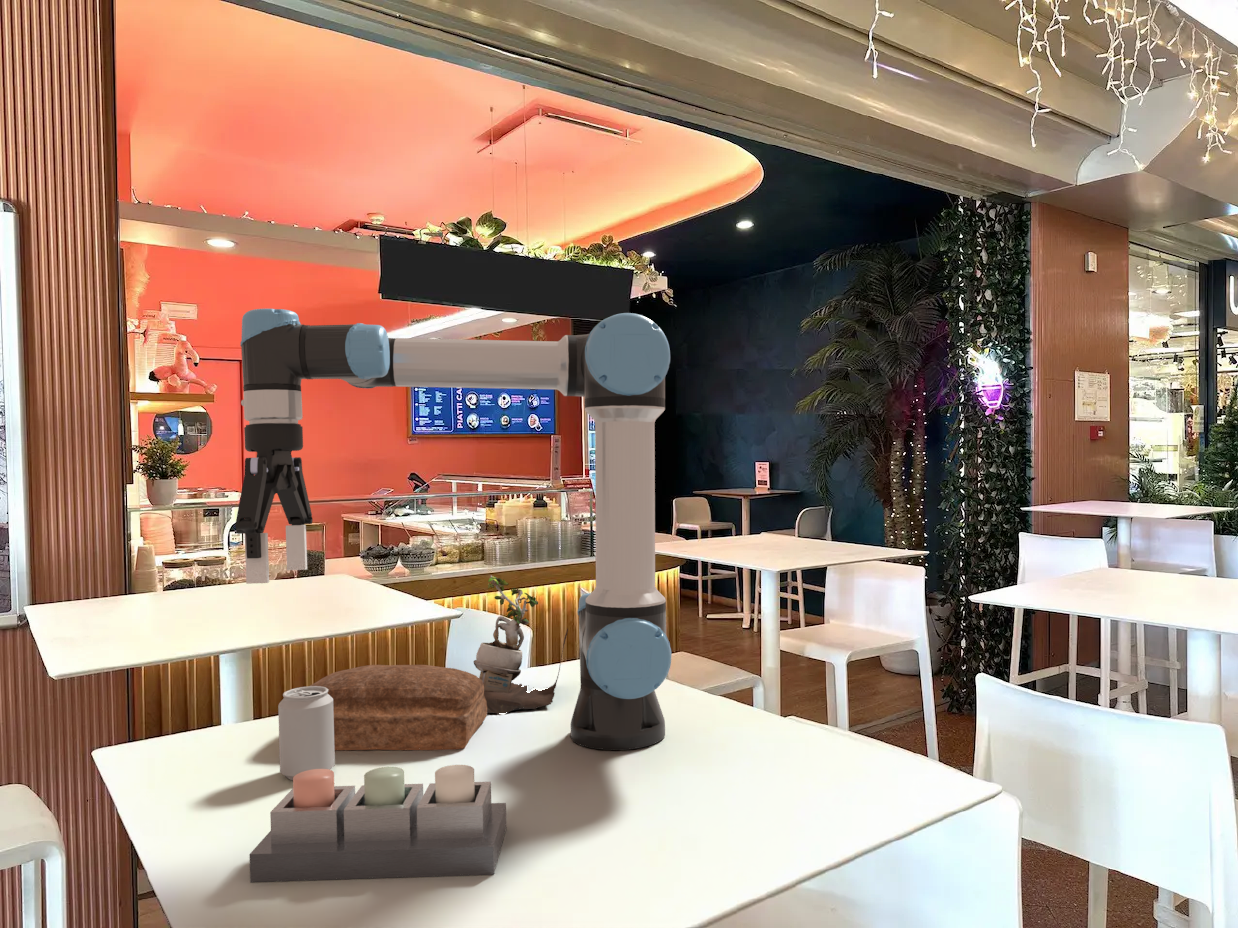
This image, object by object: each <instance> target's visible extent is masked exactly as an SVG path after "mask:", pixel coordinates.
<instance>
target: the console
mask: <svg viewBox="0 0 1238 928" xmlns="http://www.w3.org/2000/svg"><path fill="white" fill-rule="evenodd" d="M474 783H475V802H471V803H439V804H436V794H435V782H434V783H431V782H430V783H429V784H428V786H427V788H426V790H425V792H424V783H404V787H405V801H404V803H403V804H402V805H373V806H365V790H364V784H363V785H361V786H360V787H359V788H358V790H357V791H356V785H337V786H336V785H334V794H335V801H334V802H333V804H332V805H331V806H330V807H307V808H294V796H293V788H292V789H291V790H290V791H289V792H288V793H287V794H286V795H285V796H284V797H283V798H282V800H280V801H279V803H277V804H276V806H274V808H272V810H271V811H270V813H269V815H270V816H269V817H270V831H269V832H268V833H267V834H266V835H265V837H263V838H262V840H261V841H260V842H259V843H258V844H257V845H256V847H254V848H253V850H251V852H250V853H249V855H248V856H249V882H250V883H264V882H265V883H267V882H271V883H272V882H297V881H299V882H300V881H302V882H303V881H326V880H327V881H328V880H329V881H333V880H359V879H360V880H362V879H363V880H364V879H395V878H396V879H397V878H399V879H400V878H426V877H427V878H428V877H455V876H457V877H458V876H463V877H464V876H487V875H488V876H489V875H495V872H496V868H497V863H498V861H499V858H500V853H501V849H502V846H503V841H504V838H505V834H506V831H507V803H506V802H493V803H492V781H474Z"/></svg>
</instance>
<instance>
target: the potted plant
mask: <svg viewBox="0 0 1238 928" xmlns="http://www.w3.org/2000/svg"><path fill="white" fill-rule="evenodd" d="M487 582H488V583H487V589H490V588H493V589H494V588H495V589H496V590H497V591H498V592H499V594H501V595H495V596H494V597H493V598H494V599H495V600H499V604H500V605H504V603H505V601H507V602H508V603H509V604H508V605H507V609H506V613H507V615H506V616H507V617H505V616H503V615H499V616H498V617H497V618H496V621H495V626H494V627H495V629H494V631H493V634H492V636H493V639H494V641H492V642H481V643H480V646H479V647H478V649H477V653H476V655H475V660H473V665H474V666H475V669H477V670H478V671H480V672H479V676H478V678H479V679H481V680H482V681H483V685H484V696H485V699H486V702H487V714H498V715H499V713H506V712H508V713H509V712H512V711H516V710H517V711H518V710H522V709H523V710H524V709H525V710H530V709H533V710H536V709H537V708H541V707H546V706H549V705H552V703H553V699H554V697H555V689H556V687H557V684H558V683H557V682H558V679H559V675H560V671H561V666H559V668H558V673H557V676H556V679H555V682H554V683H553V684H552V685H550V686H549V688H548V687H547V688H548V689H545V690H542V691H538V690H536V689H535V690H533V691H531V692H530V693H527V692H526V691H527V685H524V687H521V686H522V685H523V684H522V683H518V684H519V685H518V684H517V683H514V682H513V681H514V680H515V679H516V678H517V677H519V676H520V675H521V673H522V670H521V669H520V667H521V666H522V662H523V650H521V649H520V648H521V646H522V644H523V642H524V639H525V635H524V632H523V629H522V628H521V627H522V625H523V626H525V625H528V624H529V623H530V621H529V620H528V619H527V617H524V616H525V613H526V612H529V610H528V609H527V608H526V607H527V604H529V605H530V607H531V608H534V607H535V606H537V605H539V601H537V600H536V599H537V598H536V597H535V596H531V595H529V594H528V593H526V592H524V593H523V590H522V589H520V588H516V587H512V588H510V591H511V596H514V595H518V596H517V598H515V599H514V602H515V603H514V602H513V601H512V600H510V599H509V598H508V596H506V594H504V592H503V591H505V586H508V585H509V584H510V583H509V582H506V580H505V579H502V578H500V577H495V576H494V575H490V577H489V579H487ZM523 594H525V595H526V597H522V595H523ZM522 600H523V605H522V608H521V606H520V604H521V603H522ZM518 601H519V602H518ZM511 617H512V618H513V619H512V620H510V619H509V618H511ZM520 624H521V625H520ZM499 629H500V630H502V631H505V632H504V634H505V642H502V641H500V639H499V638H500V637H499V633H500V632H499ZM568 632H569V628H566V632H565V635H564V639H563V643H562V653H563V652H564V649H565V644H566V639H567V637H568ZM562 658H563V655H561V656H560V659H562ZM561 662H562V660H560V662H559V665H561V664H562V663H561ZM506 714H507V713H506Z"/></svg>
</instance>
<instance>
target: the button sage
mask: <svg viewBox="0 0 1238 928" xmlns="http://www.w3.org/2000/svg"><path fill="white" fill-rule="evenodd" d="M363 779H364V780H363V783H364V784H363V785H364V790H365V806H373V805H402V804H403V803H404V801H405V787H404V784H405V770H404V769H403V768H402V767H398V766H383V767H377V768H374V769H371V770H368V771H367V772H365V773H364V775H363Z"/></svg>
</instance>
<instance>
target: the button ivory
mask: <svg viewBox="0 0 1238 928" xmlns="http://www.w3.org/2000/svg"><path fill="white" fill-rule="evenodd" d="M434 780H435V781H434V783H435V794H436V804H439V803H471V802H475V783H474V782H475V768H474V767H473V766H471V765H469V764H467V765H466V764H451V765H446V766H443V767H440V768H438V769H437V770H436V771H435V772H434Z"/></svg>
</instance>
